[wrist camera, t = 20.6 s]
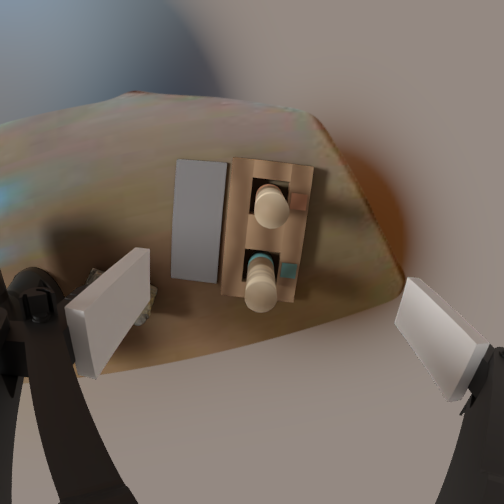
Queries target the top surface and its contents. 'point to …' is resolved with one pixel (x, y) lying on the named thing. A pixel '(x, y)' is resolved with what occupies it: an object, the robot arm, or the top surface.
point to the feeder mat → (197, 219)
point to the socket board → (258, 237)
